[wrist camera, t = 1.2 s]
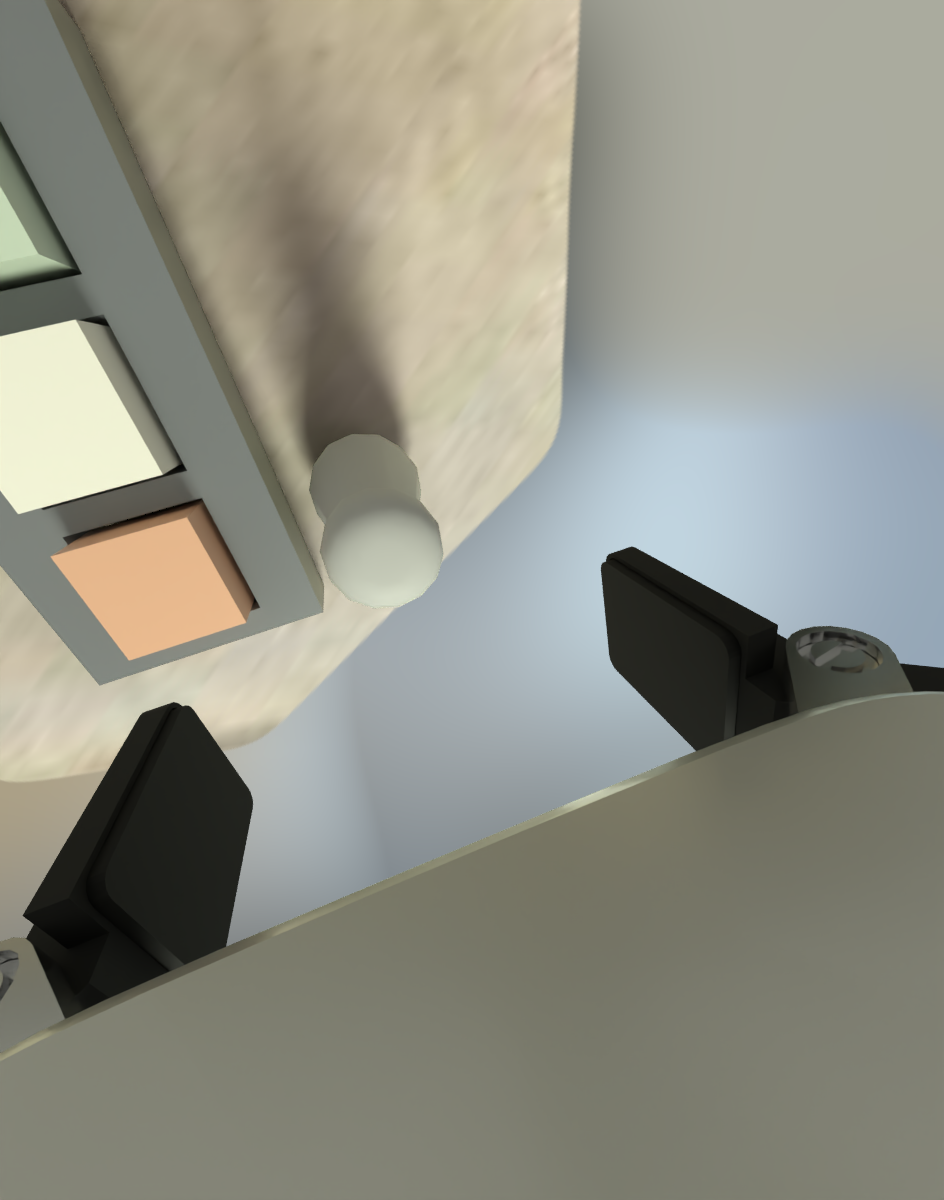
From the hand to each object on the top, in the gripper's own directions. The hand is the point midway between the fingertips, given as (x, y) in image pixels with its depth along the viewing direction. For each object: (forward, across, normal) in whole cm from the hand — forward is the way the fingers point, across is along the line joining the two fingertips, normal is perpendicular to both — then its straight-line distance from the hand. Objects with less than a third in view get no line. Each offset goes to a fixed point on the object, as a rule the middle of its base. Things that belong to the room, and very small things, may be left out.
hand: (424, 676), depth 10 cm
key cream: (+17, +11, -7) cm, 21 cm away
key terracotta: (+17, +11, 0) cm, 20 cm away
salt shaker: (+19, 0, -1) cm, 19 cm away
